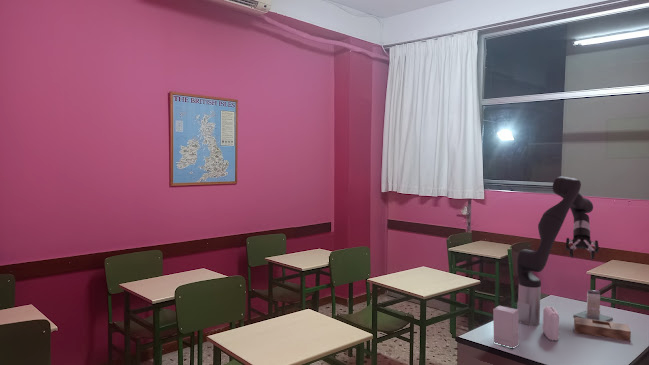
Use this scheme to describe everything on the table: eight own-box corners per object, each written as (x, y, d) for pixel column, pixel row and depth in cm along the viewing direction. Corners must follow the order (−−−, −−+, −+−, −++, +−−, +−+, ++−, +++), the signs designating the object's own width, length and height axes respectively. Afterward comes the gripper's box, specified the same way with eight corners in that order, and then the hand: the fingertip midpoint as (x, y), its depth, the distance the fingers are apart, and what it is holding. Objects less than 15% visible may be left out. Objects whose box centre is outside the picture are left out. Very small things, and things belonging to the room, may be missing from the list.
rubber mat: (600, 324, 205) (600, 322, 205) (573, 316, 215) (573, 314, 215) (612, 319, 212) (612, 317, 212) (586, 312, 222) (586, 310, 222)
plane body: (626, 333, 195) (627, 324, 195) (630, 341, 187) (630, 331, 187) (574, 325, 204) (574, 316, 204) (575, 332, 196) (575, 323, 196)
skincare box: (519, 345, 181) (520, 309, 181) (512, 350, 177) (513, 313, 176) (498, 339, 187) (499, 304, 187) (492, 343, 183) (493, 307, 182)
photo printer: (541, 331, 197) (542, 303, 196) (552, 332, 196) (553, 304, 195) (548, 340, 187) (549, 311, 186) (559, 341, 186) (560, 312, 185)
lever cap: (598, 315, 215) (599, 289, 214) (599, 319, 210) (600, 292, 209) (586, 313, 217) (587, 287, 217) (587, 317, 212) (588, 291, 211)
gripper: (566, 225, 231) (566, 251, 221) (598, 228, 225) (599, 254, 215) (565, 234, 236) (565, 260, 226) (597, 237, 230) (598, 263, 220)
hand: (582, 257), depth 221 cm, fingers open, 8 cm apart
